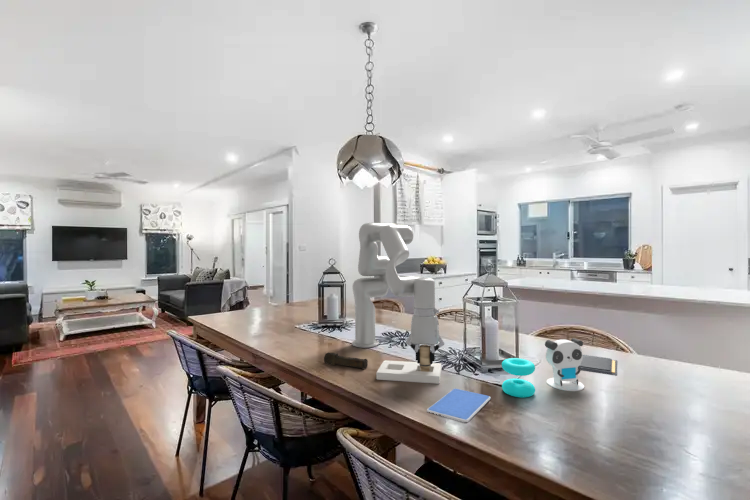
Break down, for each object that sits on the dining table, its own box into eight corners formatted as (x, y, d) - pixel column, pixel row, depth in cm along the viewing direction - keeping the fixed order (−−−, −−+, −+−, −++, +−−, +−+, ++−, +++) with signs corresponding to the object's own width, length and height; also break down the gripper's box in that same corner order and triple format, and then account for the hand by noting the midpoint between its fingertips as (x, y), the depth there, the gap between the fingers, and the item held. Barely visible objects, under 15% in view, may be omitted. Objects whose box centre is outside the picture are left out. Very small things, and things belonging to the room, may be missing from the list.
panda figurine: (558, 392, 121) (558, 345, 121) (538, 379, 133) (537, 336, 132) (592, 389, 123) (592, 343, 123) (569, 377, 134) (569, 335, 134)
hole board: (384, 366, 149) (384, 360, 148) (441, 370, 144) (441, 363, 144) (376, 379, 135) (376, 372, 135) (439, 383, 130) (439, 376, 130)
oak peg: (420, 368, 140) (419, 344, 140) (431, 369, 139) (431, 344, 139) (418, 372, 136) (418, 347, 136) (430, 373, 135) (430, 347, 135)
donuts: (502, 355, 128) (534, 358, 124) (502, 385, 128) (534, 388, 125) (501, 364, 119) (535, 368, 115) (501, 396, 119) (536, 400, 115)
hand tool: (368, 367, 148) (368, 355, 148) (363, 371, 145) (363, 358, 145) (328, 361, 157) (327, 350, 157) (322, 364, 153) (322, 352, 153)
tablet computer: (467, 425, 102) (467, 420, 102) (425, 413, 109) (425, 408, 109) (491, 400, 117) (491, 396, 117) (453, 391, 125) (453, 387, 125)
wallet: (576, 352, 160) (619, 358, 152) (576, 356, 160) (619, 362, 152) (569, 365, 144) (617, 372, 135) (569, 370, 144) (617, 378, 135)
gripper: (448, 311, 139) (448, 360, 140) (403, 309, 143) (403, 358, 143) (447, 314, 132) (448, 367, 132) (400, 313, 136) (400, 364, 136)
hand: (425, 362), depth 138 cm, fingers closed on oak peg, 4 cm apart
